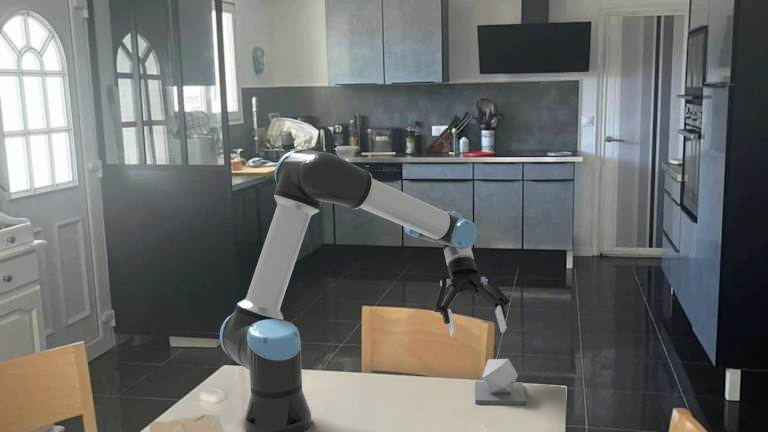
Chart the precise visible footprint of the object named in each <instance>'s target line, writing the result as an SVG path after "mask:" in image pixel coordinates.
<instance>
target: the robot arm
mask: <svg viewBox="0 0 768 432" xmlns="http://www.w3.org/2000/svg"><path fill="white" fill-rule="evenodd" d="M274 180H275V184H276V189H275V190H274V195H273V198H274V199H275V202H276V208H275V211H274V214H273V216H272V217H273V218H272V221H271V223H270V225H269V229H268V232H267V235H266V238H265V241H264V243H263V246H262V250H261V253H260V255H259V258H258V261H257V265H256V268H255V269H254V270H255V271H254V274H253V276H252V279H251V283H250V284H249V288H248V291H247V294H246V297H245V298H244V299H242V300H240V301H239V302H237V303H236V307H235V309H234V311H233V313H231V315H228V316H227V317H226V319H225V320H224V321H223V323H222V325H221V327H220V331H219V341H220V342H219V343H220V345H221V347H222V349H223V352H225V354H226V355H227V356H228V357H229V358H230V359H231V360H233V361H234V362H236V363H237V364H239V365H240V366H242V367H243V368H244V369H246V370H248V372H249V383H250V397H249V401H248V404H247V408H246V412H245V415H244V430H245V431H246V432H305V431H306V430H307V429H308V428H310V427H311V425H312V413H311V412H312V411H311V409H310V406H309V404H308V402H307V398H306V396H305V392H304V391H303V376H302V375H303V373H302V371H303V370H302V352H301V351H302V341H301V336H300V332H299V329H298V327H297V326H296V325H294V324H293V323H292V322H290V321H286V320H284V316H283V314H282V312H281V307H282V303H283V300H284V297H285V295H286V292H287V291H286V290H287V288H288V285H289V282H290V279H291V276H292V273H293V271H294V267H295V264H296V261H297V259H298V256H299V252H300V249H301V246H302V244H303V241H304V237H305V235H306V232H307V229H308V226H309V223H310V221H311V218H312V216H314V215H315V214H317V213H319V212H320V210H321V206H322V204H323V202H324V203H330V204H336V205H340V206H343V207H347V208H349V209H351V210H357V209H362V210H365V211H367V212H369V213H371V214H374V215H377V216H378V217H380V218H383V219H386V220H388V221H391V222H392V223H396V224H398V225H400V226H403V230H404V232H405V233H406V234H407V235H409V236H412V237H413V238H417V239H422V240H424V241H425V240H426V241H429V242H431V243H432V242H433V243H434V244H435V243H437V244H439V245H441V246H442V249H443V254H444V257H445V263H446V265H447V269H448V270H447V271H448V274H449V277H450V278H447V277H446V276H442V277H441V279H440V282H439V287H440V289H439V292H438V295H437V299H436V302H435V305H434V308H433V311H434V313H439V314H440V315H441V316H442V319H443V323H444V325H447V327H448V329H449V331H448V332H449V335H450V337H452V338H453V337H454V336H455V334H456V333H457V330H456V326H455V322H454V317H453V314H452V309H450V307H451V306H452V304H453V302H454V300H455V299H456V297H458V295H459V294H461V295H467V294H468V295H473V294H476V295H477V296H480V297H481V298H483V300H485V301H486V302H488V304H490V305H491V306H493V307H494V308H495V310H494V311H495V316H496V320H497V323H498V327H499V330H500V334H501V333H502V334H505V331H507V324H506V321H505V320H506V318H507V312H506V309H505V308H508V306H509V304H510V302H511V301H510V299H509V298H508V297H507V296H506V295H505V294H504V293H503V291H502V290H501V289H500V288H499V287H498V285H497V284H495V283H496V282H494V280H493V278H492V276H491V274H489V273H487V274H486V275H485V276H480V275H479V273H478V268H477V265H476V261H475V257H474V253H473V251H472V246H473V245H474V244H475V243H476V240H477V237H478V229H477V226H476V224H475V223H474V222H473V221H472V220H469V219H467V218H463V216H462V214H461V213H460V212H457V211H445V210H442V209H440V208H438V207H436V206H434V205H431V204H429V203H428V202H425V201H423V200H421V199H418V198H416V197H413V196H412V195H409V194H407V193H406V192H402V191H400V190H398V189H396V188H394V187H392V186H390V185H389V184H385V183H384V182H381V181H379V180H377V179H375V178H373V176H372V174H371V172H369V171H367V170H365V169H363V168H361V167H359V166H357V165H355V164H354V163H351V162H349V161H348V160H346V159H344V158H342V157H340V156H338V155H336V154H333V153H331V152H326V151H317V150H312V149H307V148H306V149H303V148H302V149H295V150H291V151H289V152H287V153H285V154H284V155H283V156H282V157H281V158H279V160H278V162H277V164H276V166H275V169H274ZM449 285H450V286H451V287H452V288H454V289H453V291H452V292H451V294H450V295H449V296H448V298H447V300H446V301H445V303H444V305H442V303H443V299H444V295H445V293H446V289H447V288H448V287H449ZM485 287H486V288H485Z"/></svg>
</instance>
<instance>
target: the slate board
mask: <svg viewBox="0 0 768 432" xmlns="http://www.w3.org/2000/svg"><path fill="white" fill-rule="evenodd" d="M474 394H475V395H474V397H475V399H474V401H475V405H507V406H508V405H511V406H512V405H518V406H519V405H520V406H521V405H523V406H526V405H527V400H526V399H527V398H526V393H525V388H524V381H515V384H514V386H513V389H512V391H511V393H490V392H489V390H488V388H487V386H486V384H485V382H484V381H480V380H479V381H475V382H474Z"/></svg>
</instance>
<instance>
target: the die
mask: <svg viewBox="0 0 768 432" xmlns="http://www.w3.org/2000/svg"><path fill="white" fill-rule="evenodd" d="M516 371H517V370H516V369H515V367H514V366H513V363H511V360H510V358H497V359H496V358H492V359H488V360H487V362H486V364H485V367H484V369H483V371H482V373H481V377H480V378H481V379H482V380H483V381H482V382H485V384H486V386H487V388H488V390H489V392H490V393H511V391H512V389H513V386H514V384H515V382H517V378H518V376H519V375H518V373H517V372H516Z"/></svg>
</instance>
